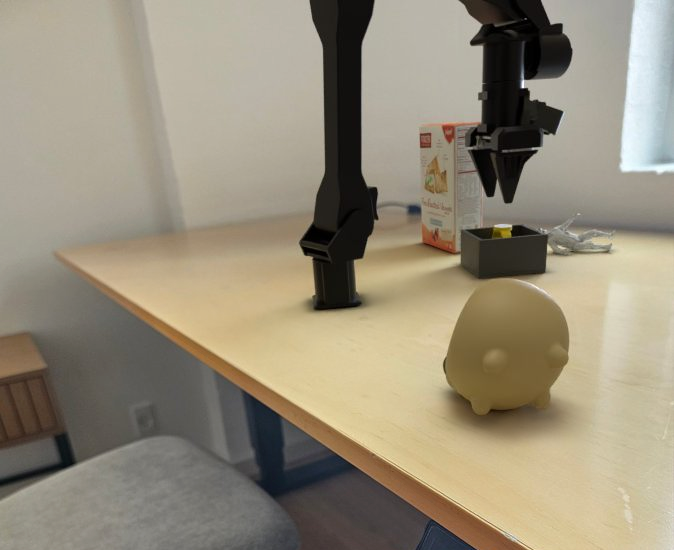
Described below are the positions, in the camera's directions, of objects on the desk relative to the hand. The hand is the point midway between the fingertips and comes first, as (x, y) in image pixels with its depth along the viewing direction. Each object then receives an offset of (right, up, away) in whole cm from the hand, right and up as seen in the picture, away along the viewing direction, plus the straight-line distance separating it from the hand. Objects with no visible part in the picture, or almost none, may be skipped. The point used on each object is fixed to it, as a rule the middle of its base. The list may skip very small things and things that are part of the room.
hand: (498, 200), depth 99 cm
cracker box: (-3, 0, +24) cm, 24 cm away
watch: (+1, -9, +4) cm, 10 cm away
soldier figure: (+16, -4, +12) cm, 20 cm away
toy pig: (-11, -34, -43) cm, 55 cm away
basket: (+1, -9, +4) cm, 10 cm away
